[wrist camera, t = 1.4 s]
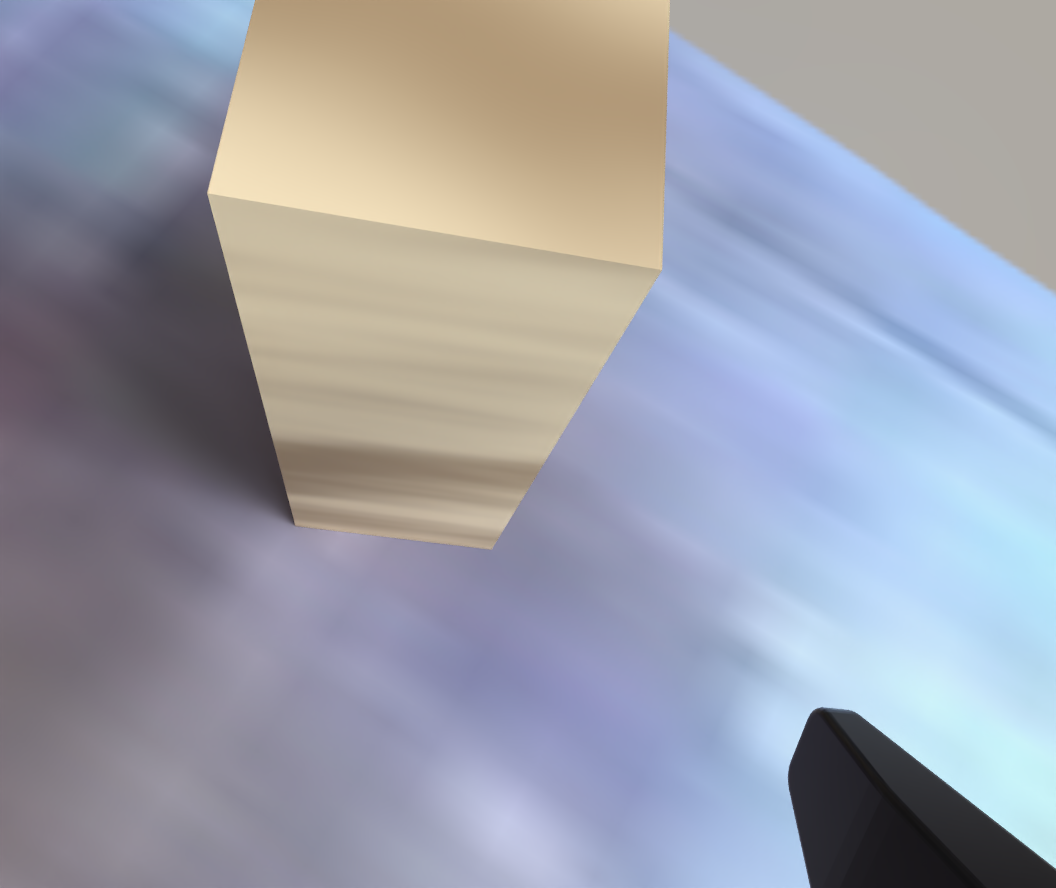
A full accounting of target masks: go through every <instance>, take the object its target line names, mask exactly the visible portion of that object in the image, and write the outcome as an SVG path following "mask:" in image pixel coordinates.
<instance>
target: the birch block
mask: <svg viewBox="0 0 1056 888" xmlns="http://www.w3.org/2000/svg"><path fill="white" fill-rule="evenodd" d="M669 11H670V0H255V3H254V7H253V11H252V15H251V19H250V23H249V28H248V32H247V36H246V40H245V44H244V48H243V52H242V56H241V60H240V64H239V68H238V72H237V76H236V80H235V84H234V88H233V92H232V96H231V100H230V104H229V108H228V112H227V116H226V120H225V124H224V128H223V132H222V136H221V140H220V144H219V148H218V152H217V156H216V160H215V164H214V168H213V172H212V176H211V180H210V184H209V188H208V192H207V194H208V198H209V202H210V205H211V209H212V213H213V217H214V220H215V224H216V228H217V232H218V236H219V239H220V243H221V247H222V251H223V254H224V258H225V262H226V266H227V270H228V273H229V277H230V281H231V285H232V288H233V292H234V296H235V300H236V303H237V307H238V311H239V315H240V319H241V322H242V326H243V330H244V334H245V337H246V341H247V345H248V349H249V353H250V356H251V360H252V364H253V368H254V371H255V375H256V379H257V383H258V386H259V390H260V394H261V398H262V402H263V405H264V409H265V413H266V417H267V420H268V424H269V428H270V432H271V435H272V439H273V443H274V447H275V451H276V454H277V458H278V462H279V466H280V469H281V473H282V477H283V481H284V485H285V488H286V492H287V496H288V500H289V503H290V507H291V511H292V515H293V518H294V522H295V526H300V527H308V528H316V529H325V530H333V531H341V532H350V533H358V534H366V535H374V536H383V537H391V538H399V539H408V540H416V541H424V542H433V543H441V544H449V545H458V546H466V547H474V548H483V549H491V550H492V548H493V546H494V545H495V543H496V541H497V540H498V538H499V536H500V535H501V533H502V531H503V530H504V528H505V527H506V525H507V523H508V522H509V520H510V518H511V517H512V515H513V513H514V512H515V510H516V509H517V507H518V505H519V504H520V502H521V500H522V499H523V497H524V495H525V494H526V492H527V491H528V489H529V487H530V486H531V484H532V482H533V481H534V479H535V477H536V476H537V474H538V472H539V471H540V469H541V468H542V466H543V464H544V463H545V461H546V459H547V458H548V456H549V454H550V453H551V451H552V450H553V448H554V446H555V445H556V443H557V441H558V440H559V438H560V436H561V435H562V433H563V432H564V430H565V428H566V427H567V425H568V423H569V422H570V420H571V418H572V417H573V415H574V413H575V412H576V410H577V409H578V407H579V405H580V404H581V402H582V400H583V399H584V397H585V395H586V394H587V392H588V391H589V389H590V387H591V386H592V384H593V382H594V381H595V379H596V377H597V376H598V374H599V373H600V371H601V369H602V368H603V366H604V364H605V363H606V361H607V359H608V358H609V356H610V354H611V353H612V351H613V350H614V348H615V346H616V345H617V343H618V341H619V340H620V338H621V336H622V335H623V333H624V332H625V330H626V328H627V327H628V325H629V323H630V322H631V320H632V318H633V317H634V315H635V313H636V312H637V310H638V309H639V307H640V305H641V304H642V302H643V300H644V299H645V297H646V295H647V294H648V292H649V291H650V289H651V287H652V286H653V284H654V282H655V281H656V279H657V277H658V276H659V274H660V273H661V271H662V253H663V218H664V184H665V149H666V115H667V80H668V46H669Z"/></svg>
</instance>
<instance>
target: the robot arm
mask: <svg viewBox="0 0 1056 888" xmlns="http://www.w3.org/2000/svg"><path fill="white" fill-rule="evenodd" d="M788 785H789V791H790V796H791V800H792V805H793V810H794V814H795V819H796V823H797V828H798V833H799V837H800V842H801V846H802V851H803V856H804V860H805V865H806V869H807V874H808V879H809V883H810V888H1056V869H1055V868H1054V867H1053V866H1052V865H1050V864H1049V863H1048V862H1046V861H1045V860H1044V859H1043V858H1041V857H1040V856H1039V855H1037V854H1036V853H1035V852H1034V851H1032V850H1031V849H1030V848H1029V847H1027V846H1026V845H1025V844H1023V843H1022V842H1021V841H1020V840H1018V839H1017V838H1016V837H1014V836H1013V835H1012V834H1011V833H1009V832H1008V831H1007V830H1006V829H1004V828H1003V827H1002V826H1000V825H999V824H998V823H997V822H995V821H994V820H993V819H991V818H990V817H989V816H988V815H986V814H985V813H984V812H983V811H981V810H980V809H979V808H977V807H976V806H975V805H974V804H972V803H971V802H970V801H969V800H967V799H966V798H965V797H963V796H962V795H961V794H960V793H958V792H957V791H956V790H954V789H953V788H952V787H951V786H949V785H948V784H947V783H946V782H944V781H943V780H942V779H940V778H939V777H938V776H937V775H935V774H934V773H933V772H931V771H930V770H929V769H928V768H926V767H925V766H924V765H923V764H921V763H920V762H919V761H917V760H916V759H915V758H914V757H912V756H911V755H910V754H908V753H907V752H906V751H905V750H903V749H902V748H901V747H900V746H898V745H897V744H896V743H894V742H893V741H892V740H891V739H889V738H888V737H887V736H885V735H884V734H883V733H882V732H880V731H879V730H878V729H877V728H875V727H874V726H873V725H871V724H870V723H869V722H868V721H866V720H865V719H864V718H863V717H861V716H860V715H859V714H857V713H856V712H853V711H850V710H844V709H834V708H824V707H821V708H817V709H815V710H814V711H813V712H812V713H811V714H810V716H809V718H808V720H807V722H806V725H805V727H804V730H803V732H802V735H801V737H800V740H799V742H798V745H797V747H796V750H795V752H794V755H793V757H792V760H791V763H790V766H789V772H788Z"/></svg>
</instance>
